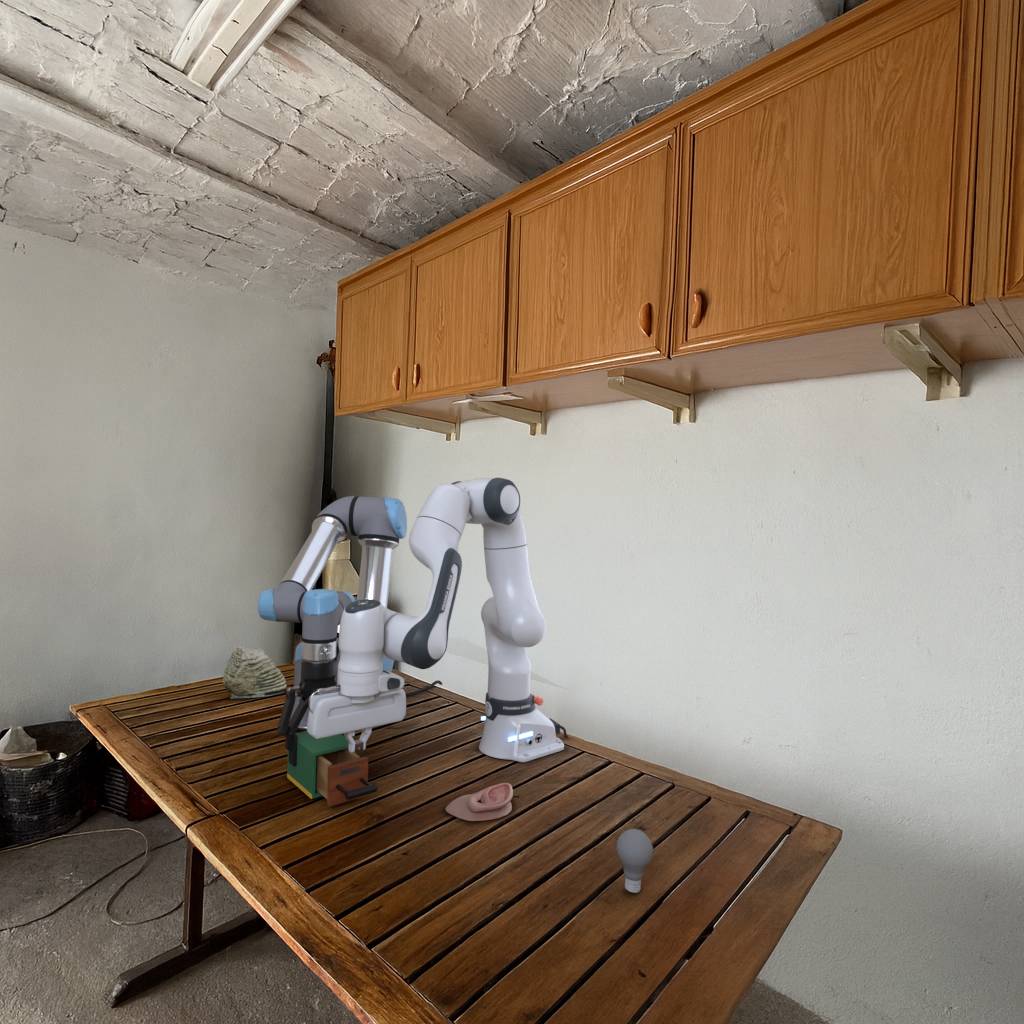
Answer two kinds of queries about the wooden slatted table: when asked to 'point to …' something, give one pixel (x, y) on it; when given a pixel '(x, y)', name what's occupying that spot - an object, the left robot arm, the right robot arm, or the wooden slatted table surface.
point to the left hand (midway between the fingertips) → (315, 758)
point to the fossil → (252, 674)
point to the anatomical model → (483, 804)
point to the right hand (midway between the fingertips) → (356, 750)
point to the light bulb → (634, 857)
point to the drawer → (342, 777)
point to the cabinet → (312, 759)
